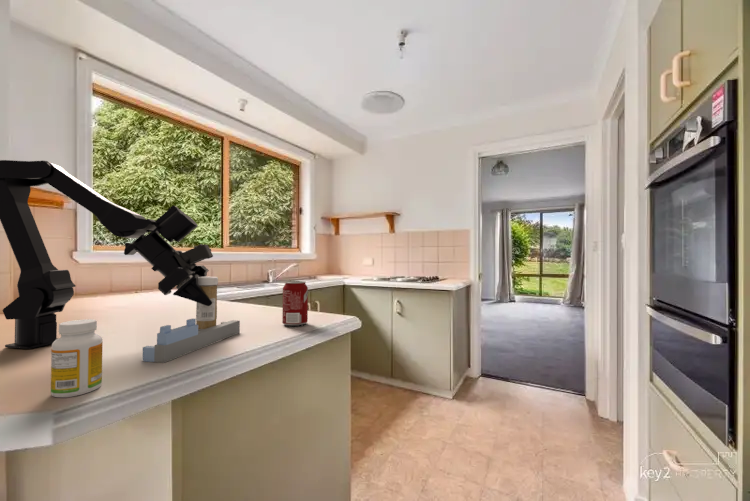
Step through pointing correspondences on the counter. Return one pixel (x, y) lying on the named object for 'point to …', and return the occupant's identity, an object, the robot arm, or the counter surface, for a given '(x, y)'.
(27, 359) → the counter surface
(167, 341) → the grey long notched block
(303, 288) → the soda can
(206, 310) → the sprinkles bottle
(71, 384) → the supplement bottle
